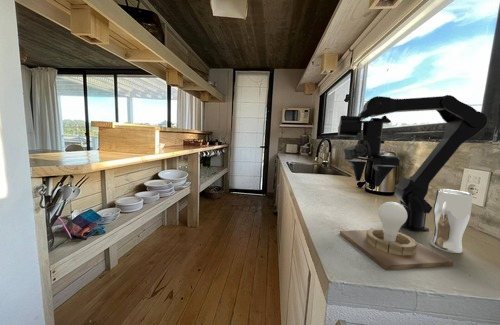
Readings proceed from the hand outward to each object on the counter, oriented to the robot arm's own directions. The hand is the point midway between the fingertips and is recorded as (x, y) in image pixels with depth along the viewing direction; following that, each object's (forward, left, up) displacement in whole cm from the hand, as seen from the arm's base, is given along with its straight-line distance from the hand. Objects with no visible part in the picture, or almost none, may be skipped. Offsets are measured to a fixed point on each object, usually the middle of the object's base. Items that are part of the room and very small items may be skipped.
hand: (366, 183), depth 72 cm
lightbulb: (+6, +18, -12) cm, 22 cm away
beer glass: (-10, +19, -13) cm, 25 cm away
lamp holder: (+6, +18, -13) cm, 23 cm away
